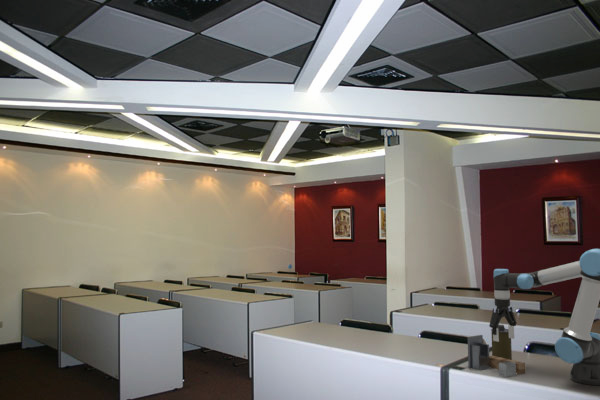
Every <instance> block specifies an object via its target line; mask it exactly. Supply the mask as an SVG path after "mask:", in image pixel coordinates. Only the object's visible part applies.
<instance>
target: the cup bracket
mask: <svg viewBox="0 0 600 400" xmlns="http://www.w3.org/2000/svg"><path fill="white" fill-rule="evenodd" d="M483 336H484V335H483V334H478V335H472V336H467V359H468V363H467V364H468V365H467V366H468V369H469V368H470V370H471V368H472V370H476V371H483V370H487V369H490V368H491V367H490V344H488V343H484V341H483V340H484V337H483Z"/></svg>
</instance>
